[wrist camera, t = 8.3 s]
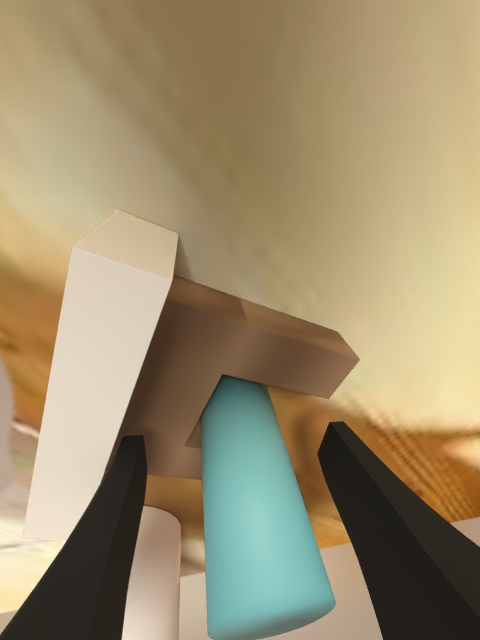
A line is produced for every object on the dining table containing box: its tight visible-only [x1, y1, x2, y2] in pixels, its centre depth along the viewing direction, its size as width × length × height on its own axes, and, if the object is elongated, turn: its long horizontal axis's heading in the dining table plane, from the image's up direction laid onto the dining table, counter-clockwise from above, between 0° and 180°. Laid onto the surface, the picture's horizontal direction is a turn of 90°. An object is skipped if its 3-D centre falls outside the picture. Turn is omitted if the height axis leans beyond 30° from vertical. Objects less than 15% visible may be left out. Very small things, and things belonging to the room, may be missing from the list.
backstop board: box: [22, 210, 179, 540], centre depth 10 cm, size 2×12×4 cm, turn 155°
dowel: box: [200, 374, 336, 640], centre depth 10 cm, size 3×3×8 cm
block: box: [105, 275, 360, 480], centre depth 12 cm, size 8×9×2 cm
